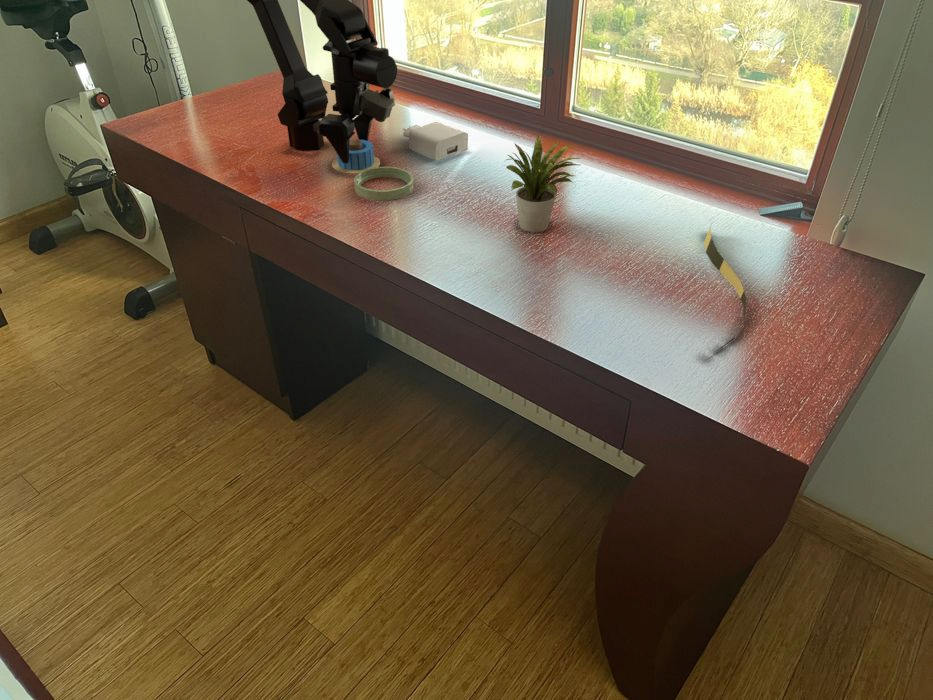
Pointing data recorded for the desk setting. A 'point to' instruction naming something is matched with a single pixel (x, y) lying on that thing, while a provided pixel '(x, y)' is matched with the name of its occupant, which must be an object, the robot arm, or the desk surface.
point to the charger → (436, 140)
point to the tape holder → (354, 146)
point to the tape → (724, 271)
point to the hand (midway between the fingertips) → (355, 154)
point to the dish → (383, 172)
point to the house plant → (537, 185)
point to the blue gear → (359, 157)
